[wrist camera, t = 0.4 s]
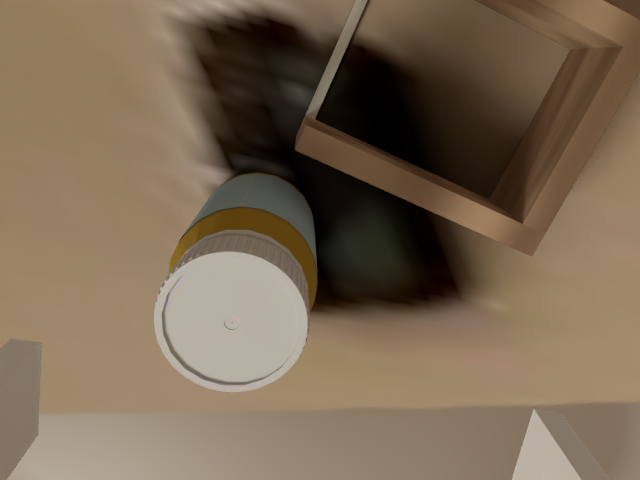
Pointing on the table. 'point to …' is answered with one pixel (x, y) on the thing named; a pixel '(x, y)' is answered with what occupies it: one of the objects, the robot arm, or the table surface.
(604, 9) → the u rest
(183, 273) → the bottle
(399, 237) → the table surface
